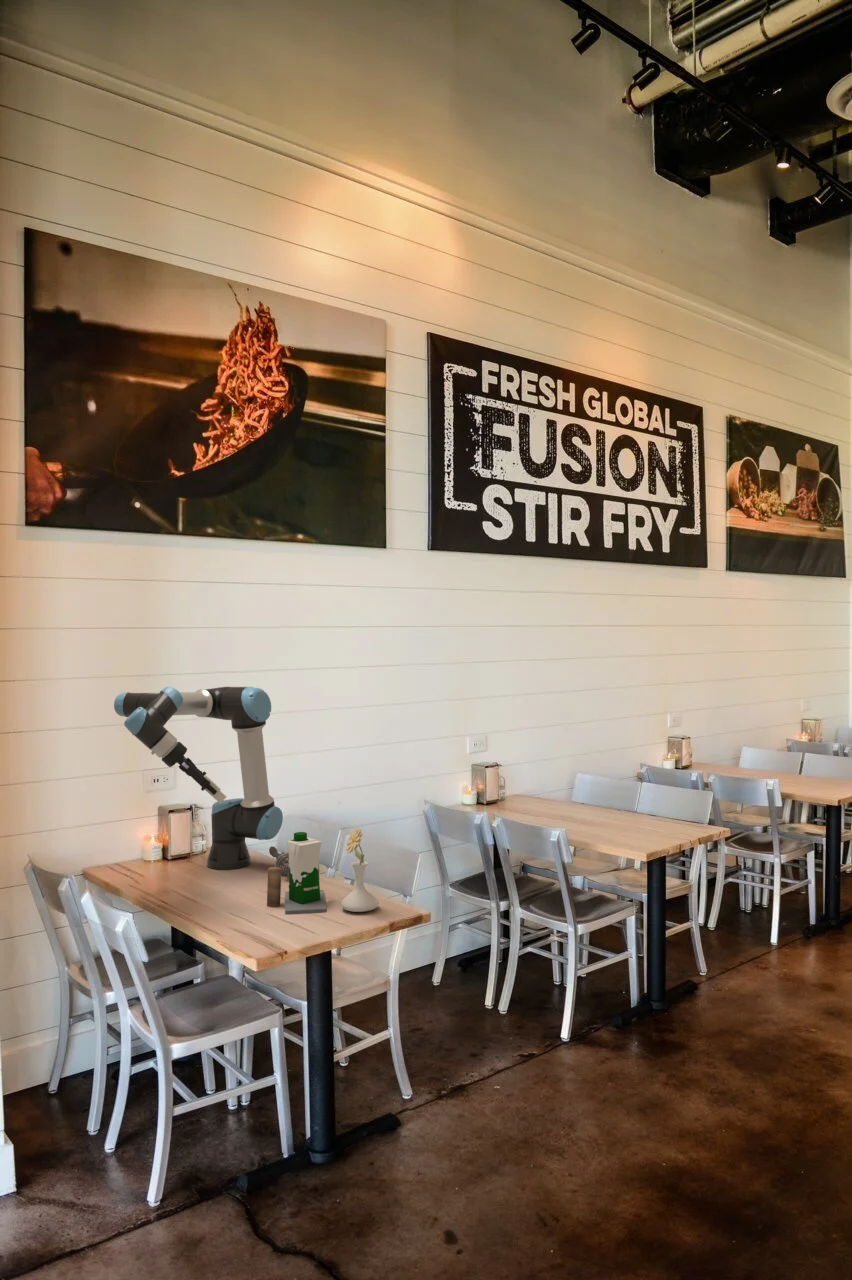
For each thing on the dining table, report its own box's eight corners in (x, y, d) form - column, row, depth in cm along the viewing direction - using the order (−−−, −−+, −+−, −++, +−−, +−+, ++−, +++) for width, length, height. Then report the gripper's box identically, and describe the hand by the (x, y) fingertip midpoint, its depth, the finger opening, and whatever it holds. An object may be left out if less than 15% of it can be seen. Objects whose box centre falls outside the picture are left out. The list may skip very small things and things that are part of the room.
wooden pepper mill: (266, 903, 275) (267, 867, 275) (279, 902, 276) (280, 866, 276) (267, 907, 271) (268, 870, 271) (281, 906, 272) (282, 870, 272)
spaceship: (283, 840, 325) (264, 834, 321) (319, 872, 294) (298, 866, 291) (275, 861, 324) (255, 855, 320) (310, 895, 294) (289, 890, 290)
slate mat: (285, 894, 284) (285, 891, 284) (323, 892, 286) (323, 889, 286) (285, 914, 264) (285, 910, 264) (326, 912, 266) (326, 908, 266)
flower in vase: (341, 904, 274) (340, 822, 274) (378, 903, 275) (378, 821, 275) (340, 917, 261) (339, 831, 261) (379, 916, 262) (378, 830, 262)
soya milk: (308, 893, 282) (308, 830, 282) (325, 900, 275) (324, 834, 275) (284, 899, 276) (284, 834, 276) (300, 905, 269) (300, 839, 269)
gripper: (157, 753, 282) (207, 798, 287) (162, 764, 258) (216, 813, 263) (175, 735, 283) (223, 780, 289) (181, 745, 260) (234, 793, 265)
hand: (220, 796), depth 276 cm, fingers open, 13 cm apart
